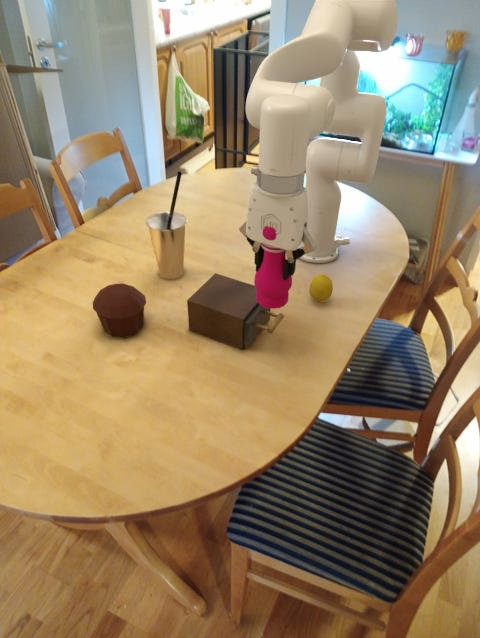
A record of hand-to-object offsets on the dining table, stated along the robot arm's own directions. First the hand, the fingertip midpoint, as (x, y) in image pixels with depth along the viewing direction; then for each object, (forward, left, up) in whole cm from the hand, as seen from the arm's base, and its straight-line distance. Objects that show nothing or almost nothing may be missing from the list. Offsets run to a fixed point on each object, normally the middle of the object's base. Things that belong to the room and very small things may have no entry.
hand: (274, 271), depth 88 cm
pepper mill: (0, 0, -7) cm, 7 cm away
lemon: (-18, -14, -21) cm, 31 cm away
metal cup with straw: (+14, -36, -21) cm, 44 cm away
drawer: (+3, -9, -20) cm, 22 cm away
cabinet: (+6, -12, -21) cm, 25 cm away
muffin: (+29, -18, -21) cm, 40 cm away
